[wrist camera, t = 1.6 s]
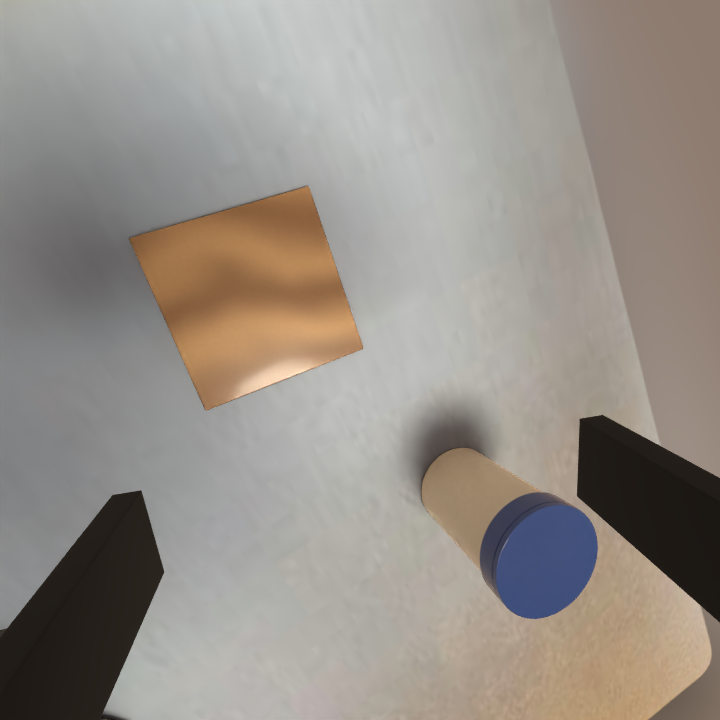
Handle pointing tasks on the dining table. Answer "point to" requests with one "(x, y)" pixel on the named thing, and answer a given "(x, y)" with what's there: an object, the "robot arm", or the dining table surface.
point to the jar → (469, 496)
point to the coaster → (249, 295)
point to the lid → (538, 554)
